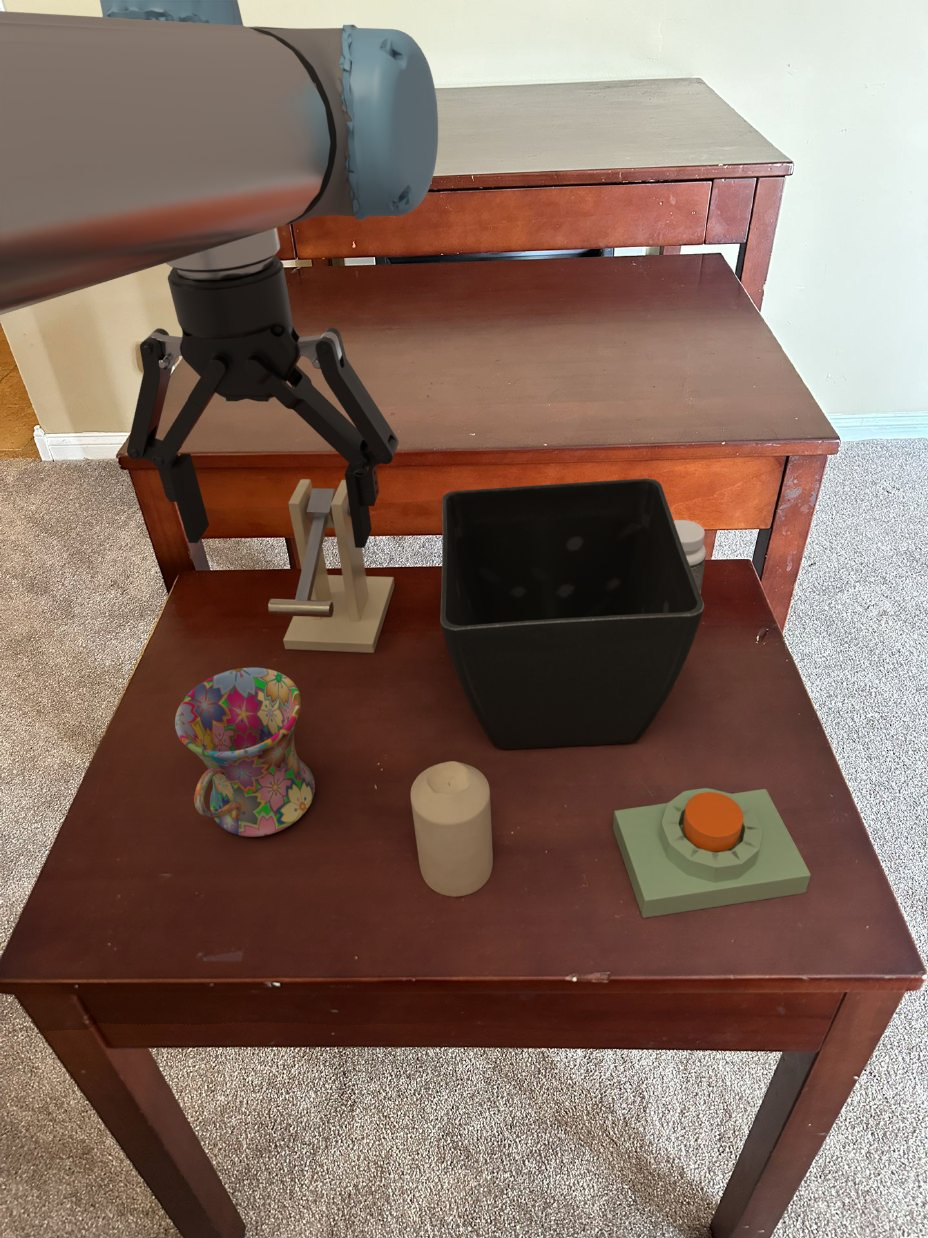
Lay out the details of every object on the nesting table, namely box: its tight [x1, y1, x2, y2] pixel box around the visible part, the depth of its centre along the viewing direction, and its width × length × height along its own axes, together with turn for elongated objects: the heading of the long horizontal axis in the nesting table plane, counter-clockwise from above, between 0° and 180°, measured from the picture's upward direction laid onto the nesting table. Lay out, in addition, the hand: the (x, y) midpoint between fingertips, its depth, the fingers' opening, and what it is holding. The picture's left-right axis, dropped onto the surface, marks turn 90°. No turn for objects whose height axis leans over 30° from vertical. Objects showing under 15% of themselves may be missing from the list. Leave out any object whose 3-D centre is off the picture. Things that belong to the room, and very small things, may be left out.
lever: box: [267, 487, 337, 617], centre depth 81 cm, size 13×6×2 cm, turn 173°
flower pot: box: [439, 478, 705, 751], centre depth 76 cm, size 19×19×17 cm
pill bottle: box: [673, 519, 707, 595], centre depth 89 cm, size 5×5×8 cm
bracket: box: [282, 478, 395, 654], centre depth 87 cm, size 11×9×15 cm
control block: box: [612, 787, 812, 919], centre depth 66 cm, size 12×8×4 cm, turn 98°
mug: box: [174, 667, 316, 838], centre depth 69 cm, size 12×9×11 cm
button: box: [683, 792, 743, 852], centre depth 64 cm, size 4×4×2 cm
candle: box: [410, 760, 494, 898], centre depth 64 cm, size 6×6×10 cm
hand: (280, 536), depth 72 cm, fingers open, 13 cm apart
